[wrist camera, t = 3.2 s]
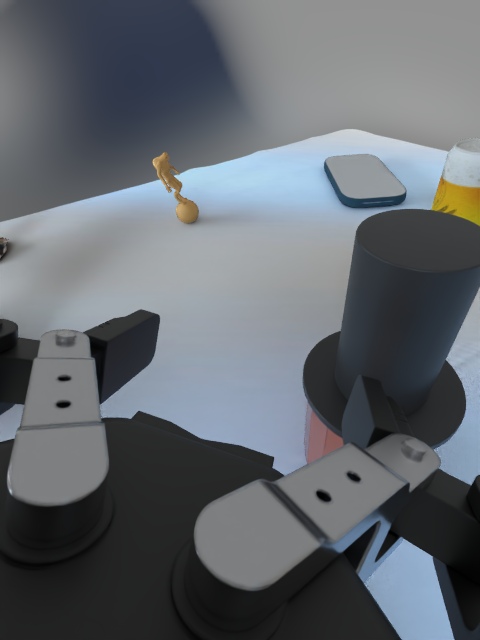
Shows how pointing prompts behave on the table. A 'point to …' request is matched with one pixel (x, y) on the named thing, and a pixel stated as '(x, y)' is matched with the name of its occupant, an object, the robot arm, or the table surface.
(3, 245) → the bird sculpture
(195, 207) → the figurine
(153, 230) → the table surface
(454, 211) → the beer can
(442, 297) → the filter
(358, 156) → the external hard drive
